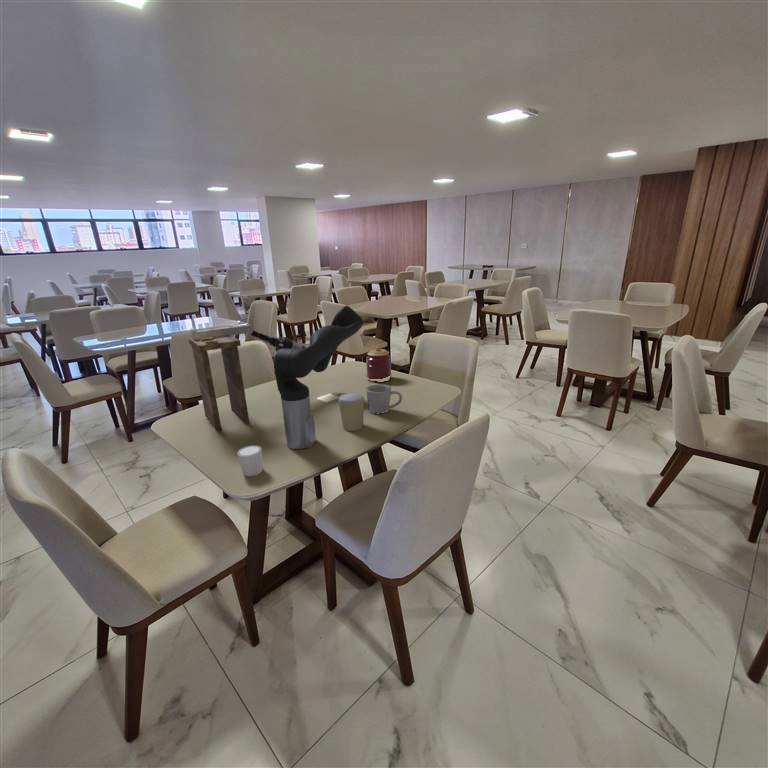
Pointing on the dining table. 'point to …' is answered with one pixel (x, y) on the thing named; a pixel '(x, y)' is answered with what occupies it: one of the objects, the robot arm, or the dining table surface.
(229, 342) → the walnut stand
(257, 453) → the white ribbed cup
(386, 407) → the mug
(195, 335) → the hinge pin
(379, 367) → the canister
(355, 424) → the coffee cup
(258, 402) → the dining table surface
